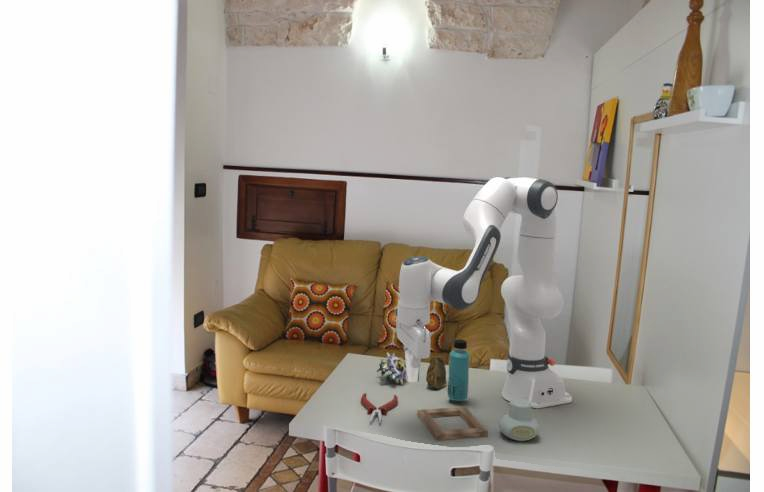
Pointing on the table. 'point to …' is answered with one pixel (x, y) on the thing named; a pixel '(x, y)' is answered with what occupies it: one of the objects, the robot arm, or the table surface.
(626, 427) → the table surface
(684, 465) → the table surface
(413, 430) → the table surface
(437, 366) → the decorative stone
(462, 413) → the wooden frame
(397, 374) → the passion flower
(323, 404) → the table surface
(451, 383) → the beverage bottle
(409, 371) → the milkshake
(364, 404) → the pliers
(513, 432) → the air freshener
